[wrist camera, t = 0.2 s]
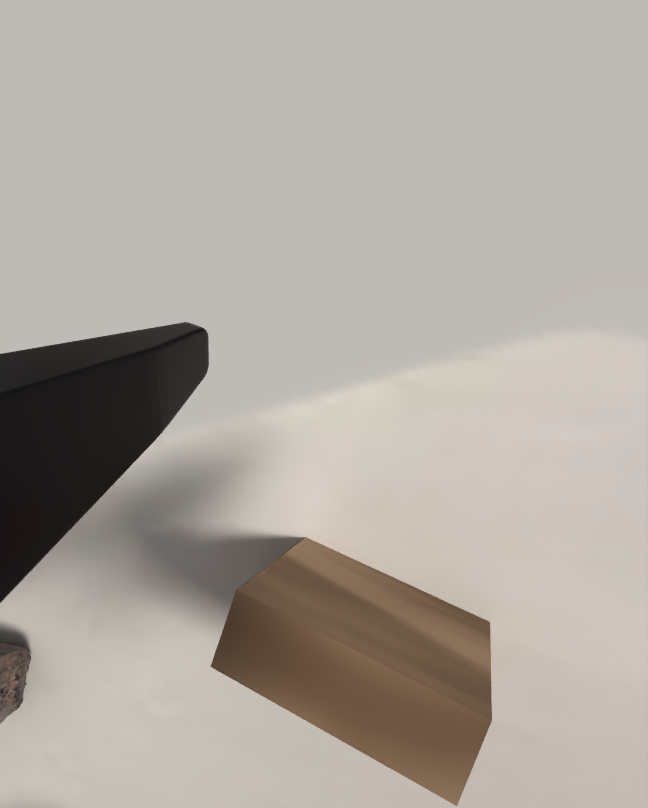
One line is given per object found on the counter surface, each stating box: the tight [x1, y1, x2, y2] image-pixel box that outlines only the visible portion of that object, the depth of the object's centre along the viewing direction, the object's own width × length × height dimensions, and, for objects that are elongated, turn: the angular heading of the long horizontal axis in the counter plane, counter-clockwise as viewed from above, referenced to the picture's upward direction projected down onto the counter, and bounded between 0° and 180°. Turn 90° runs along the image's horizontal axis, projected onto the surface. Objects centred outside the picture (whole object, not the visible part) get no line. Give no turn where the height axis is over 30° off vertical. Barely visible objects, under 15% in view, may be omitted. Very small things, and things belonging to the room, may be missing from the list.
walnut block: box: [211, 538, 492, 806], centre depth 21 cm, size 3×9×8 cm, turn 70°
